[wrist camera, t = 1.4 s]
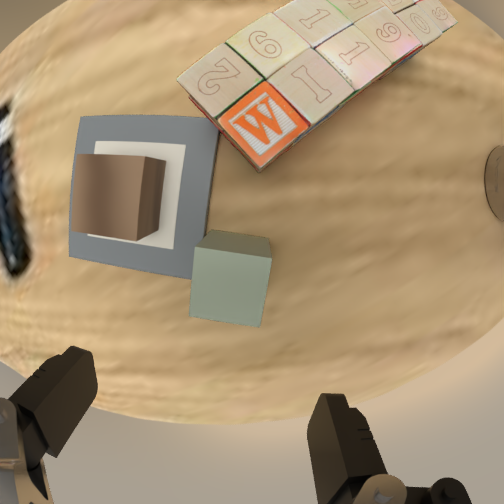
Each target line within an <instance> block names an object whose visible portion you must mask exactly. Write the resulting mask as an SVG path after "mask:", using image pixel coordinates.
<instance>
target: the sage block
mask: <svg viewBox="0 0 504 504" xmlns="http://www.w3.org/2000/svg"><path fill="white" fill-rule="evenodd" d="M271 263H272V254H271V249H270V244H269V239H268V238H265V237H258V236H252V235H245V234H238V233H232V232H225V231H218V230H211V231H210V232H209V233H208V234H207V235H206V236H205V237H204V238H203V239H202V240H201V241H200V242H199V243H198V244H197V245H196V246H195V251H194V261H193V271H192V282H191V294H190V307H189V316H191V317H196V318H202V319H208V320H214V321H220V322H226V323H233V324H239V325H246V326H253V327H260V324H261V319H262V313H263V308H264V302H265V297H266V291H267V286H268V280H269V275H270V269H271Z"/></svg>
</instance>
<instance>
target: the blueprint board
mask: <svg viewBox="0 0 504 504" xmlns="http://www.w3.org/2000/svg"><path fill="white" fill-rule="evenodd" d="M219 134H220V131H219V129H218V128H217V127H216V126H215V125H214V124H213V123H212V122H211V121H210V120H209V119H208V118H201V117H186V116H166V115H103V116H84V117H81V118H80V123H79V128H78V134H77V140H76V147H75V154H74V162H73V171H72V181H71V194H70V211H69V257H74V258H79V259H83V260H88V261H93V262H98V263H103V264H108V265H113V266H118V267H124V268H129V269H134V270H139V271H145V272H150V273H156V274H161V275H167V276H173V277H179V278H184V279H190V280H192V271H193V261H194V251H195V246H196V245H197V244H198V243H199V242H200V241H201V240H202V239H203V238H204V237H205V233H206V224H207V216H208V209H209V201H210V194H211V187H212V179H213V173H214V166H215V159H216V153H217V146H218V140H219Z"/></svg>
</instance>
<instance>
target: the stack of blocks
mask: <svg viewBox="0 0 504 504" xmlns="http://www.w3.org/2000/svg"><path fill="white" fill-rule="evenodd" d="M457 23H458V22H457V21H456V19H455V18H454V17H453V16H452V15H451V14H450V13H449V11H448V10H447V9H446V8H445V7H444V6H443V5H442V4H441V3H440V2H439V0H293V1H291V2H289V3H287V4H285V5H283V6H282V7H280V8H278V9H277V10H275V11H274V12H273V13H267V14H266V15H264V16H262V17H261V18H259V19H257V20H256V21H254V22H252V23H251V24H249V25H248V26H246V27H245V28H243V29H242V30H240V31H239V32H237V33H236V34H234V35H233V36H232V37H230V38H229V39H227V40H226V42H225V43H221V44H219V45H217V46H216V47H215V48H213V49H212V50H211V51H209V52H208V53H207V54H205V55H204V56H203V57H201V58H200V59H199V60H197V61H196V62H195V63H194V64H192V65H191V66H190V67H189V68H187V69H186V70H185V71H184V72H183V73H181V74H180V75H179V76H178V77H177V79H176V80H177V82H178V83H179V84H180V85H181V86H182V87H183V88H184V89H185V90H186V91H187V93H188V94H189V95H190V96H189V99H190V100H191V101H192V102H193V103H194V104H195V106H197V108H198V109H199V110H200V111H201V112H203V113H204V115H205V116H206V117H207V118H208V119H209V120H210V121H211V122H212V123H213V124H214V125H215V126H216V127H217V128H218V129H219V131H220V132H221V133H222V134H223V135H224V136H225V137H226V138H227V139H228V140H229V141H230V142H231V144H232V145H233V146H234V147H236V148H237V150H239V151H240V152H241V154H242V155H243V156H244V157H245V158H246V159H247V161H248V162H249V163H250V164H251V165H252V166H253V167H254V168H255V169H256V171H257V172H258V173H260V172H261V171H262V170H263V169H265V168H266V167H267V166H268V165H269V164H271V163H272V162H273V161H274V160H276V159H277V158H278V157H279V156H280V155H282V154H283V153H284V152H286V151H288V150H289V149H290V148H291V147H293V146H294V145H295V144H296V143H298V142H299V141H300V140H301V139H303V138H304V137H305V136H306V135H308V134H309V133H310V132H311V131H313V130H314V129H316V128H317V127H318V126H319V125H321V124H322V123H323V122H325V121H326V120H327V119H329V118H330V117H331V116H332V115H334V114H335V113H336V112H337V111H339V110H340V109H341V108H342V107H343V106H344V104H346V103H347V102H348V101H350V100H351V99H352V98H354V97H355V96H357V95H358V94H359V93H361V92H362V91H363V90H364V89H366V88H367V87H368V86H369V85H371V84H372V83H373V82H375V81H376V80H378V79H379V80H380V79H382V78H383V77H385V76H386V75H387V74H389V73H390V72H392V71H393V70H395V69H396V68H398V67H399V66H400V65H402V64H403V63H404V62H405V61H407V60H408V59H409V58H411V57H412V56H414V55H415V54H416V53H418V52H419V51H420V50H422V49H423V48H425V47H426V46H428V45H429V44H431V43H432V42H433V41H435V40H436V39H438V38H439V37H440V36H441V35H442V33H444V32H445V31H447V30H448V29H449V28H451V27H452V26H454V25H455V24H457Z"/></svg>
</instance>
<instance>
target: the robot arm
mask: <svg viewBox="0 0 504 504" xmlns="http://www.w3.org/2000/svg"><path fill="white" fill-rule="evenodd" d="M485 184H486V193H487V198H488V201H489V204H490V207H491V209H492V211H493V212H494V214H495V215H496V217H498V218H499V219H500V220H502V221H504V146H498V147H496V148H495V149H494V150H493V151H492V152H491V154H490V156H489V159H488V162H487V166H486V172H485ZM97 389H98V383H97V378H96V372H95V367H94V360H93V355H92V353H91V352H90V351H87V350H84V349H81V348H78V347H76V346H70V347H69V348H68V349H67V350H66V351H65V352H64V353H63V354H62V355H59V354H58V355H56V356H54V357H52V358H49V359H47V360H46V361H45V362H44V363H43V364H42V365H41V366H40V367H39V370H38V369H37V370H36V371H35V372H34V373H33V375H32V376H30V377H29V378H28V379H27V380H26V381H25V382H24V383H23V384H22V385H21V386H20V387H19V388H18V389H17V390H16V391H15V392H14V393H13V395H12V396H11V397H10V398H9V399H5V398H0V504H54V502H53V499H52V495H51V491H50V488H49V484H48V480H47V475H46V470H45V465H44V461H43V459H42V457H43V455H44V454H45V452H46V453H48V454H49V455H51V456H53V457H55V458H57V456H58V455H59V453H60V452H61V450H62V448H63V447H64V445H65V444H66V442H67V440H68V439H69V437H70V436H71V434H72V432H73V431H74V429H75V428H76V426H77V425H78V423H79V421H80V420H81V419H82V417H83V416H84V414H85V412H86V411H87V409H88V408H89V406H90V405H91V403H92V402H93V400H94V399H95V397H96V394H97ZM307 440H308V445H309V451H310V457H311V462H312V469H313V475H314V481H315V488H316V494H317V500H318V504H472V503H471V500H470V498H469V496H468V494H467V491H466V489H465V487H464V486H463V484H462V483H461V482H459V481H458V480H456V479H453V478H442V479H440V480H438V481H437V482H436V483H434V484H433V486H431V487H430V488H426V487H406V486H405V485H404V483H403V482H402V481H401V480H400V479H398V478H397V477H395V476H392V475H388V473H387V471H386V468H385V466H384V463H383V460H382V458H381V455H380V453H379V450H378V448H377V445H376V443H375V440H373V435H372V433H371V431H370V428H369V425H368V423H367V420H366V418H365V417H364V416H363V415H362V413H361V412H360V411H359V410H358V409H357V408H349V405H348V403H347V400H346V397H345V395H344V394H331V393H322V394H321V395H320V396H319V399H318V401H317V404H316V406H315V409H314V411H313V414H312V416H311V419H310V421H309V424H308V429H307Z"/></svg>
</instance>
